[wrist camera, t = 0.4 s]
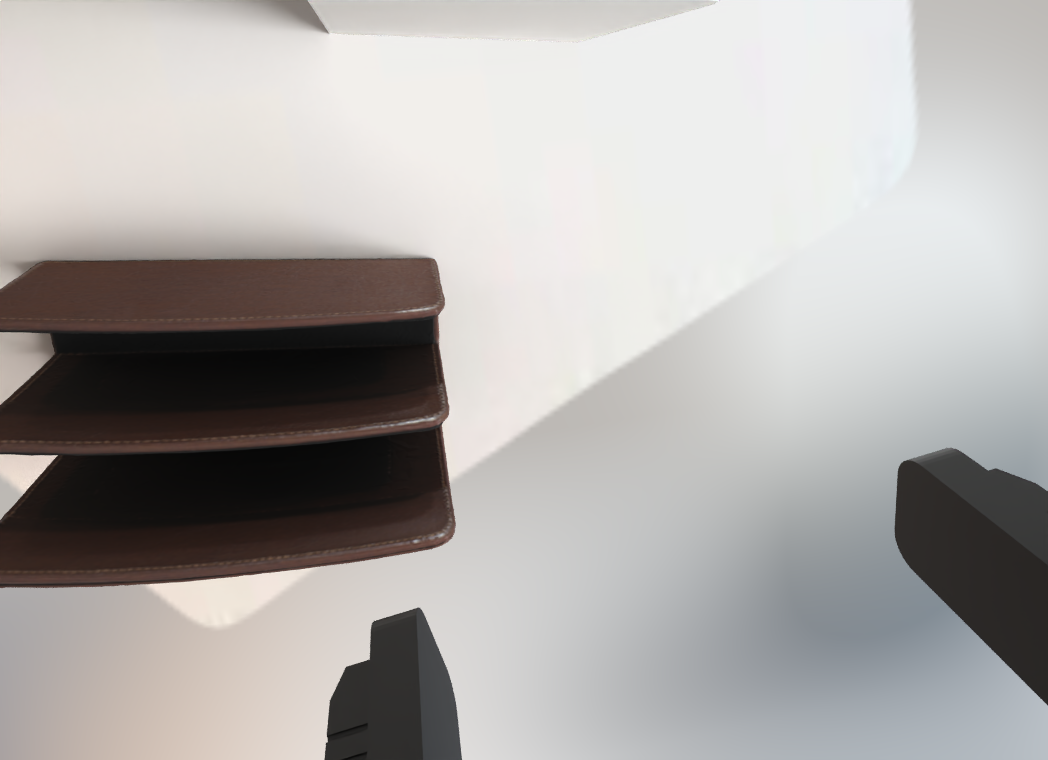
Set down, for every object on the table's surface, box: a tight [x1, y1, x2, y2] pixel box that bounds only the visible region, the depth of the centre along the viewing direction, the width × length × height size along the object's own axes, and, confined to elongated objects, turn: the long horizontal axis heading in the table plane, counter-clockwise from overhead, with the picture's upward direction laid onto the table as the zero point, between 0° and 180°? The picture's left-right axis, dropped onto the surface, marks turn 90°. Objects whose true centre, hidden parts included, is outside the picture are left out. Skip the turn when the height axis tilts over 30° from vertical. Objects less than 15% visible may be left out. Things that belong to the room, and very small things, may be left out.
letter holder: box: [0, 259, 456, 588], centre depth 31 cm, size 10×20×14 cm, turn 88°
